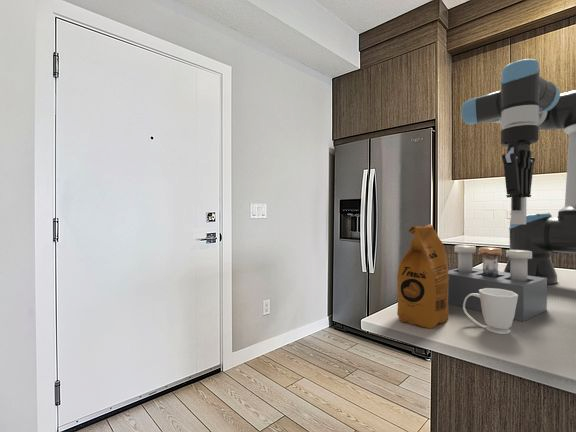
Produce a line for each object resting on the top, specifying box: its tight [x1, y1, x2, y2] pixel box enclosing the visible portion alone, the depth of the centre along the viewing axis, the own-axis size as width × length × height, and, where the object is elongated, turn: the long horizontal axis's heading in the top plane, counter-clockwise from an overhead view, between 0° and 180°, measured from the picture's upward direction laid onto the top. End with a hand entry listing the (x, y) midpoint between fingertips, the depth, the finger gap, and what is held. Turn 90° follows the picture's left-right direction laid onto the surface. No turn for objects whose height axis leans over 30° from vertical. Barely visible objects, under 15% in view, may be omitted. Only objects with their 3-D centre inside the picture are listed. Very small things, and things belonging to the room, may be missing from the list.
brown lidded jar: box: [478, 247, 503, 278], centre depth 85 cm, size 5×5×8 cm
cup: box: [462, 288, 518, 335], centre depth 69 cm, size 7×10×8 cm
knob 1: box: [454, 244, 477, 274], centre depth 90 cm, size 5×5×8 cm
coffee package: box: [396, 223, 450, 330], centre depth 75 cm, size 10×12×22 cm
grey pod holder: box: [448, 267, 548, 322], centre depth 85 cm, size 14×20×8 cm
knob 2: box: [505, 249, 532, 283], centre depth 79 cm, size 5×5×8 cm
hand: (518, 224), depth 79 cm, fingers closed
